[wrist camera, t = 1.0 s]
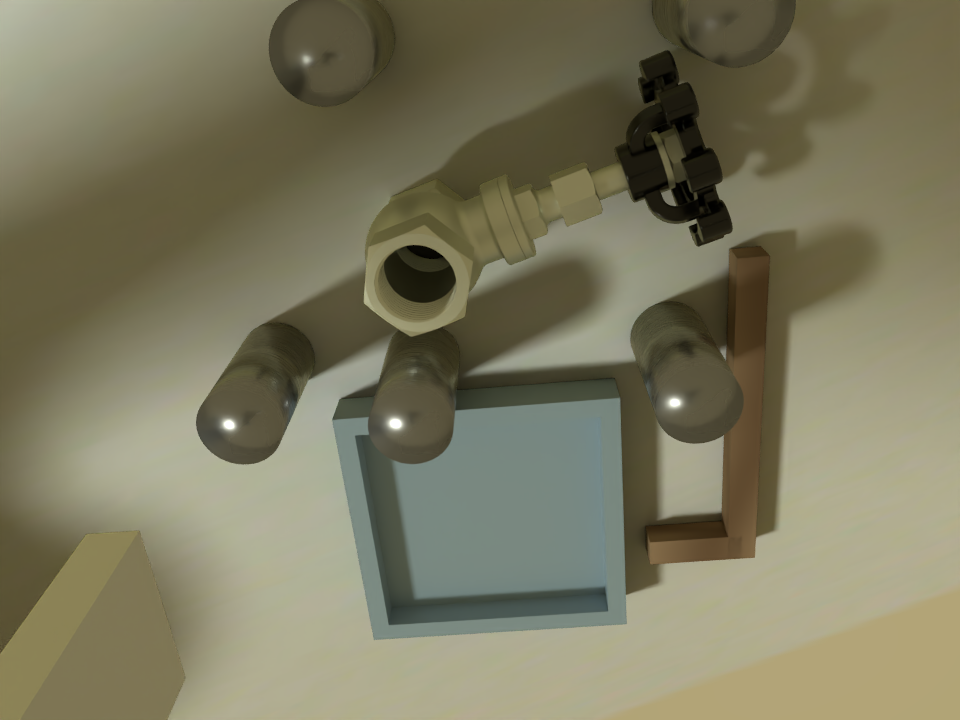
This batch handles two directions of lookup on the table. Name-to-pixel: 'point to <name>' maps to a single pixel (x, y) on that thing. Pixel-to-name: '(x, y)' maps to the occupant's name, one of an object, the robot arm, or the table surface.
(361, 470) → the tray
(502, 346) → the table surface
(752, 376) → the hook tool
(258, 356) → the spacers
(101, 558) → the robot arm
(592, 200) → the valve
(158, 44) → the table surface
